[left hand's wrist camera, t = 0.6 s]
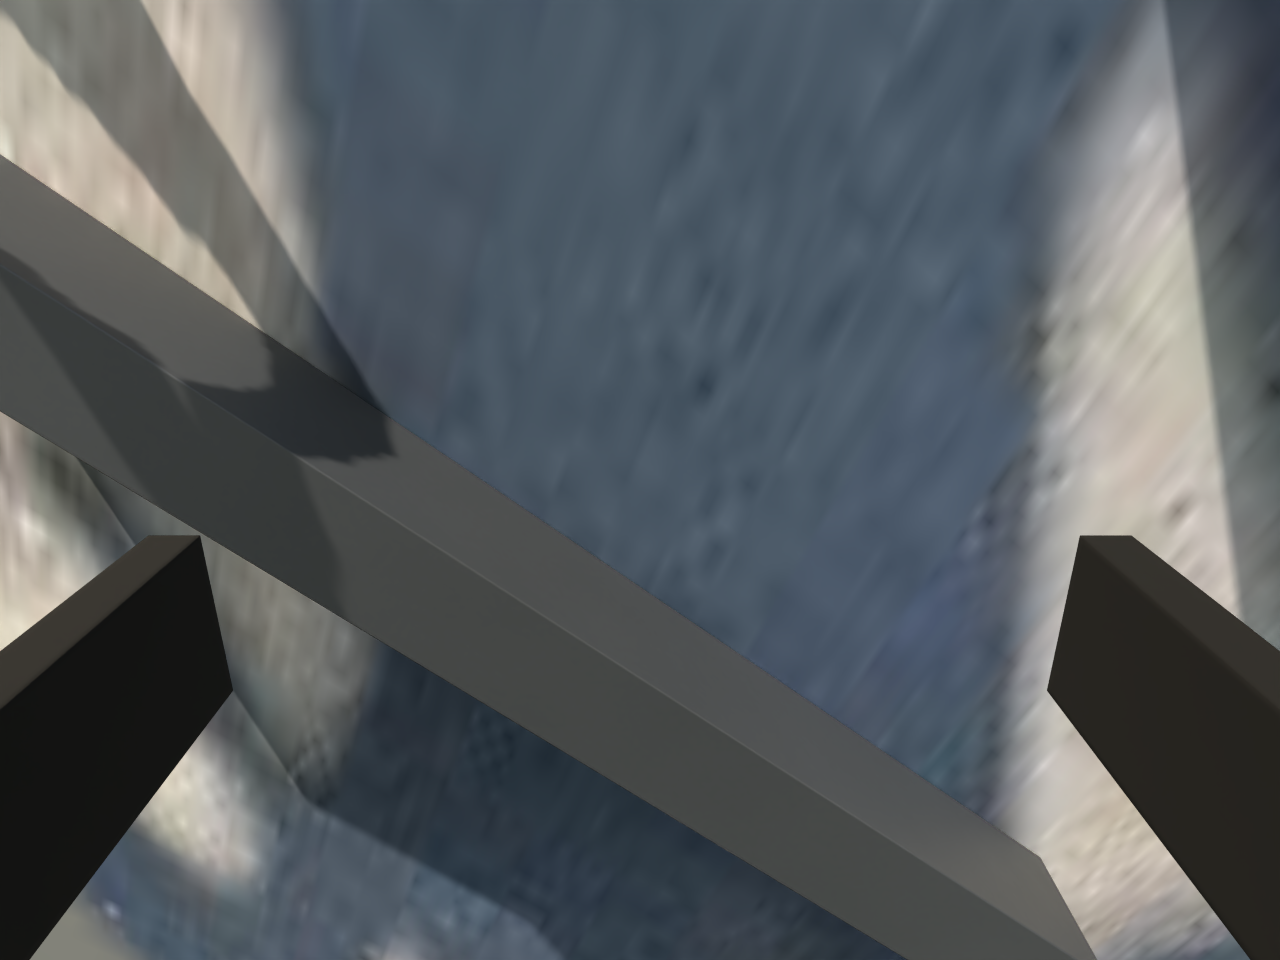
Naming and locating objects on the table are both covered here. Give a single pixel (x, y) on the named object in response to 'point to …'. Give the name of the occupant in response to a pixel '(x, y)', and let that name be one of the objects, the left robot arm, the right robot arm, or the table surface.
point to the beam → (486, 592)
